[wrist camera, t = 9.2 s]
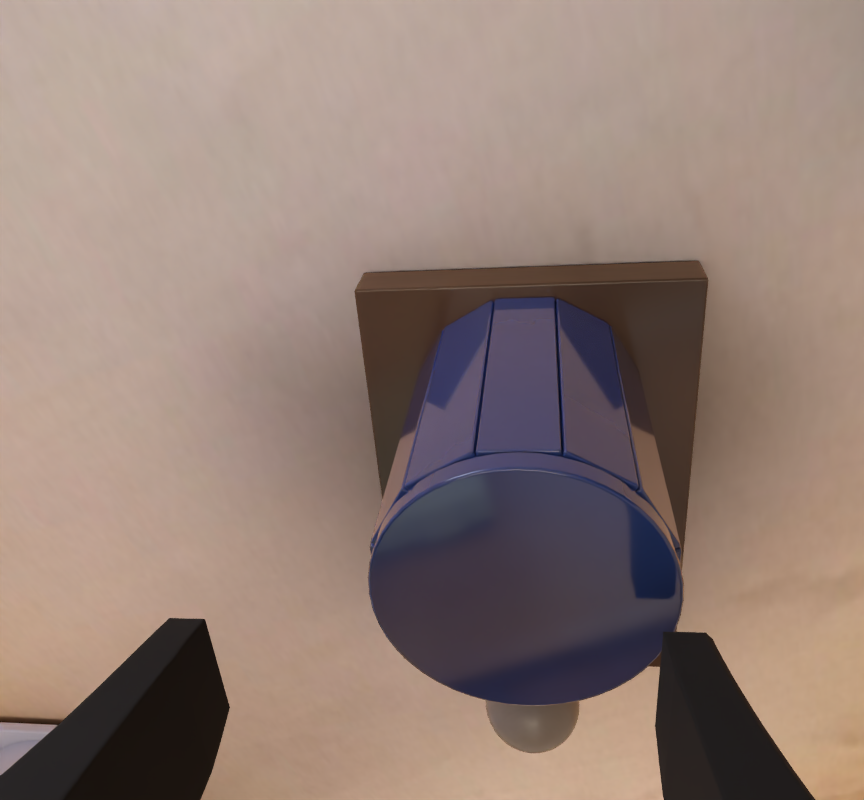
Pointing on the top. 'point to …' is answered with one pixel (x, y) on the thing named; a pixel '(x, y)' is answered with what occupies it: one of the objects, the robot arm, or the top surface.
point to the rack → (587, 290)
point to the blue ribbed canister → (527, 512)
